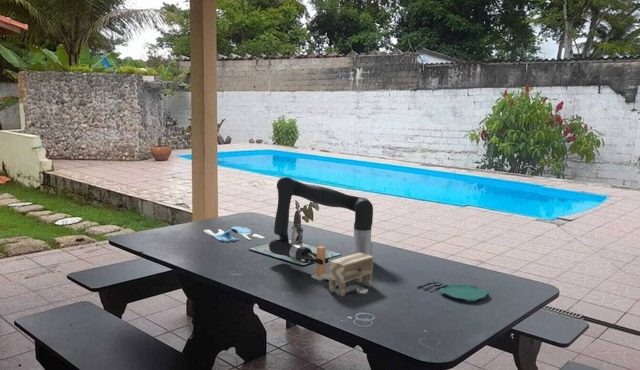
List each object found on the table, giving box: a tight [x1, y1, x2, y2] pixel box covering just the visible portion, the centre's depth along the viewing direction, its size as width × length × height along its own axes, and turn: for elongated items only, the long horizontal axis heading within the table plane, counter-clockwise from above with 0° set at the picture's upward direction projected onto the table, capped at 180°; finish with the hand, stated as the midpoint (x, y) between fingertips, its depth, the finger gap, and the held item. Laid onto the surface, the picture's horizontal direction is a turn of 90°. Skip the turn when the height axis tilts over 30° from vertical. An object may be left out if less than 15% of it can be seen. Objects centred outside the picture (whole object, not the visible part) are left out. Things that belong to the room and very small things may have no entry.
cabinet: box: [328, 253, 374, 297], centre depth 241 cm, size 10×20×14 cm, turn 134°
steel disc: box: [355, 286, 369, 296], centre depth 238 cm, size 5×5×2 cm
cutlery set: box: [416, 280, 490, 303], centre depth 242 cm, size 20×30×2 cm, turn 47°
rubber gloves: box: [203, 225, 266, 243], centre depth 332 cm, size 27×33×6 cm
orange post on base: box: [311, 245, 347, 287], centre depth 252 cm, size 16×8×15 cm, turn 44°
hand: (325, 261), depth 253 cm, fingers closed on orange post on base, 3 cm apart
